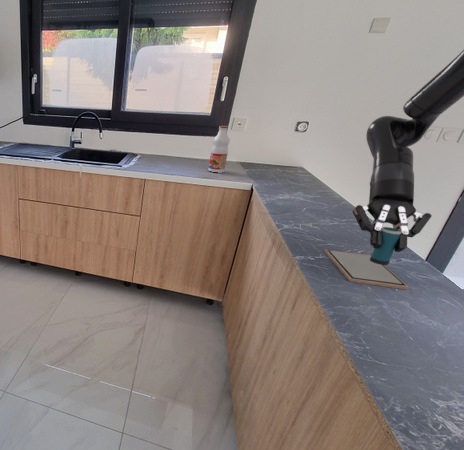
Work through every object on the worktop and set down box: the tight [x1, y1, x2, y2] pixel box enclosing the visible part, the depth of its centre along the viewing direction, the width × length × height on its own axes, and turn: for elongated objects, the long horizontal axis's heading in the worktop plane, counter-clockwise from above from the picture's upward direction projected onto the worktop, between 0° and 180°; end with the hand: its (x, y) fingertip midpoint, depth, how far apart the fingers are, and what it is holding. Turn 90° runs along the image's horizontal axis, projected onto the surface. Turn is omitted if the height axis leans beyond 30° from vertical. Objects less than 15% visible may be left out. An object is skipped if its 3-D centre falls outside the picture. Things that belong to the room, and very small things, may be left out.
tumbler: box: [370, 226, 402, 266], centre depth 74 cm, size 3×3×8 cm
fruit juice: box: [207, 125, 230, 174], centre depth 193 cm, size 9×9×28 cm
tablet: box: [324, 248, 410, 291], centre depth 88 cm, size 12×18×1 cm, turn 160°
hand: (388, 248), depth 72 cm, fingers closed on tumbler, 3 cm apart
